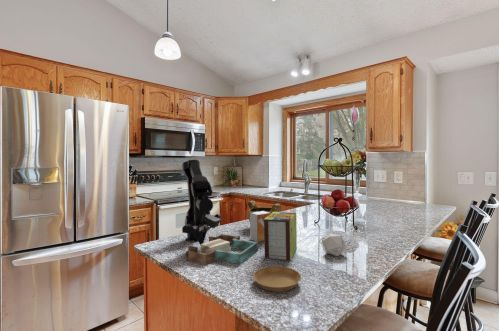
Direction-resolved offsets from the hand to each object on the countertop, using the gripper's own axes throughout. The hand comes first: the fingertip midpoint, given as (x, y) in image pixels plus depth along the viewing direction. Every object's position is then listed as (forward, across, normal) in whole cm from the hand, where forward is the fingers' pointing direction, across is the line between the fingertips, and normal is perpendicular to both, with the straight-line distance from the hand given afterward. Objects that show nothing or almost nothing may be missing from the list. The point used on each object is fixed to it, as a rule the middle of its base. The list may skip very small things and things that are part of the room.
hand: (201, 244), depth 114 cm
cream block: (+2, 0, -7) cm, 7 cm away
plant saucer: (+3, -17, -40) cm, 44 cm away
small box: (+2, +23, -18) cm, 29 cm away
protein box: (+2, +9, -33) cm, 34 cm away
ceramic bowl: (+2, +42, -12) cm, 44 cm away
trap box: (+2, 0, -11) cm, 11 cm away
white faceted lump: (+2, +16, -53) cm, 56 cm away
